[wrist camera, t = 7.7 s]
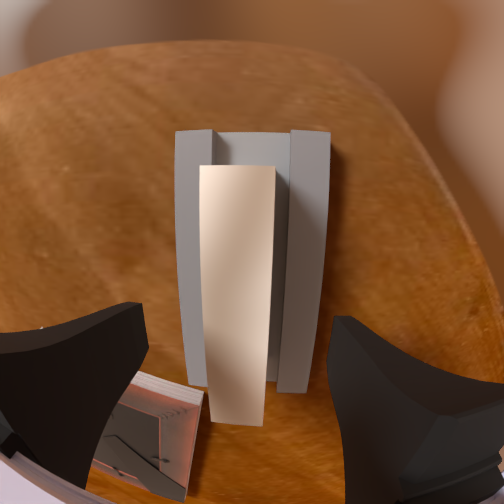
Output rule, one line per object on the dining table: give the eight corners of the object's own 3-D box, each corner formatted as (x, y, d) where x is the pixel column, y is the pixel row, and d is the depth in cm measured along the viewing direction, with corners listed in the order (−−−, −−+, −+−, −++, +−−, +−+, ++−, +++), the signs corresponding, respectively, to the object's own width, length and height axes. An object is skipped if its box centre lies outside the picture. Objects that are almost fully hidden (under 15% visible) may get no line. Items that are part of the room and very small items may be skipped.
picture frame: (188, 489, 27) (206, 386, 21) (184, 503, 24) (199, 407, 18) (78, 445, 27) (45, 324, 21) (70, 456, 25) (29, 336, 19)
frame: (275, 170, 15) (275, 166, 9) (267, 360, 18) (262, 426, 12) (228, 169, 15) (199, 165, 10) (228, 357, 18) (211, 421, 13)
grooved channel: (324, 137, 15) (330, 132, 13) (304, 376, 19) (306, 393, 17) (185, 135, 16) (175, 131, 14) (195, 369, 20) (188, 384, 18)
